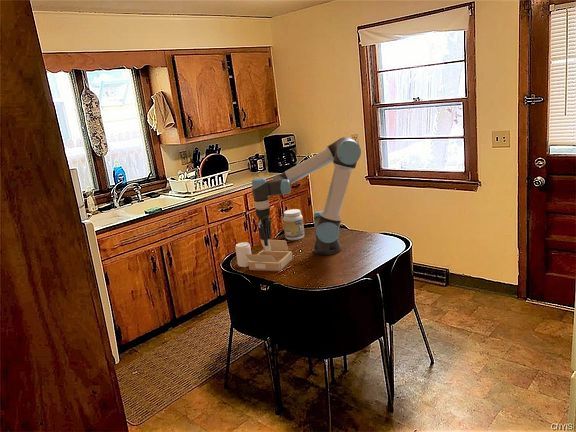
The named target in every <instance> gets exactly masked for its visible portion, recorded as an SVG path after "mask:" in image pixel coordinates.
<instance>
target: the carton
mask: <svg viewBox="0 0 576 432" xmlns="http://www.w3.org/2000/svg"><path fill="white" fill-rule="evenodd" d="M256 255H272V257H273V258H274V259H275V260H276V262H266V261H250V260H249V262H248V264H249V266H248V269H249V270H250V271H264V272H279V273H280V272H281V271H282V270H284V268H285V267H286V266H287V265H288V264H290V263H291V262H292V261H293V259H294V257H293V251H291V250H271V251H265V250H264V249H262V250H261V251H259V252H258V253H257V254H256Z"/></svg>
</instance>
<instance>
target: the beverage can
mask: <svg viewBox="0 0 576 432" xmlns="http://www.w3.org/2000/svg"><path fill="white" fill-rule="evenodd" d="M234 249H235V255H236V262H237V266H238V267H241V268H247V267H248V268H249V264H248V262H249V259H248V258H247V256H246V255H245V254H252V250H251V249H252V248H251V244H250V243H249V242H246V241H243V242H238V243H236V244H235V248H234Z"/></svg>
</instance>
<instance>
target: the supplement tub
mask: <svg viewBox="0 0 576 432" xmlns="http://www.w3.org/2000/svg"><path fill="white" fill-rule="evenodd" d="M282 222H283V229H284V236H285V237H284V238H285V240H289V241H298V240H301V239H303V238H304V237H305V228H304V227H305V226H304V218H303V215H302V212H301V209H295V208H293V209H292V208H291V209H287V210H285V211H283V218H282Z"/></svg>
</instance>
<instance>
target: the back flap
mask: <svg viewBox="0 0 576 432" xmlns="http://www.w3.org/2000/svg"><path fill="white" fill-rule="evenodd" d="M287 243H288V242H287V239H285V240H283V239H282V240H279V239H270V247H271V251H290V250H289V247H288V244H287ZM260 244H261V245H262V247H263V249H262V250H265V246H264V240H261V239H260Z"/></svg>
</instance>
